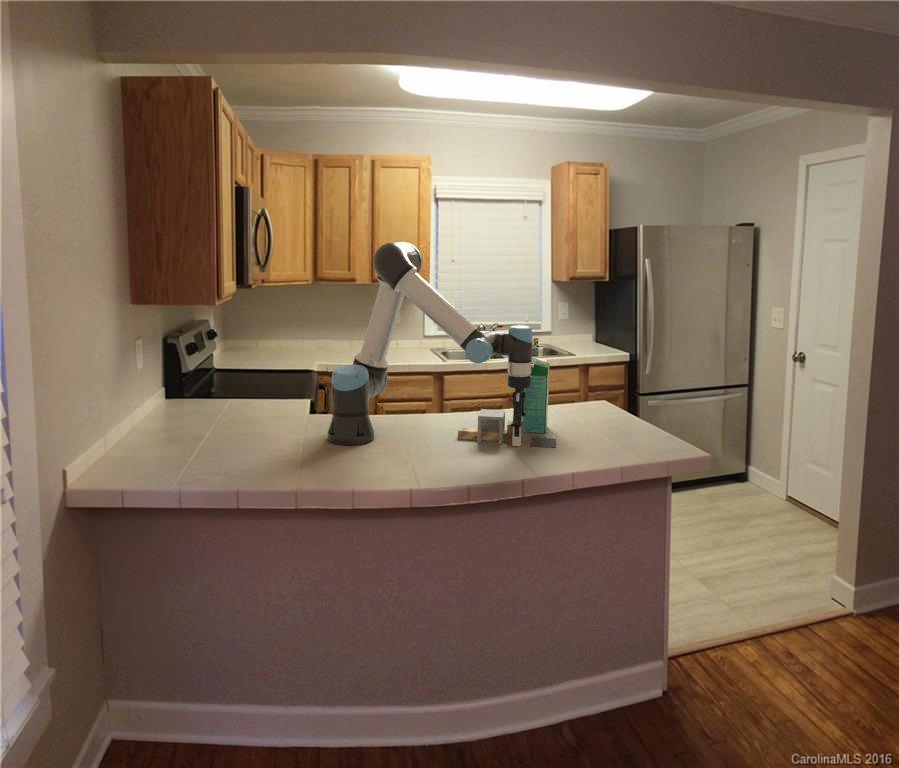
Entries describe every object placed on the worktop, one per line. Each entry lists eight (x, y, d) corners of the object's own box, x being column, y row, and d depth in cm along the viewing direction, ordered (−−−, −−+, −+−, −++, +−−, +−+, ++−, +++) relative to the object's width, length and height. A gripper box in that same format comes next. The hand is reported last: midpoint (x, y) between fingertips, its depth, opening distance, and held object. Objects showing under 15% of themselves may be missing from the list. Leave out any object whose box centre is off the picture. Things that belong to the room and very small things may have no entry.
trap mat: (530, 446, 228) (530, 445, 228) (531, 437, 238) (531, 437, 238) (555, 447, 227) (555, 447, 227) (556, 439, 237) (556, 438, 237)
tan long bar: (457, 439, 236) (457, 430, 235) (459, 436, 240) (459, 427, 239) (506, 442, 234) (506, 433, 233) (507, 438, 238) (507, 430, 237)
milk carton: (545, 433, 243) (548, 360, 238) (518, 431, 245) (521, 359, 240) (547, 426, 252) (550, 356, 247) (521, 424, 254) (523, 354, 248)
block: (506, 442, 232) (507, 424, 231) (507, 438, 237) (508, 420, 236) (522, 443, 232) (522, 425, 230) (523, 439, 236) (523, 421, 235)
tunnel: (477, 442, 231) (477, 415, 229) (480, 435, 240) (481, 409, 238) (502, 444, 230) (502, 417, 228) (504, 436, 239) (505, 410, 237)
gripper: (529, 382, 217) (527, 451, 222) (532, 368, 240) (530, 431, 244) (504, 381, 218) (503, 450, 223) (510, 367, 241) (508, 430, 246)
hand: (517, 440), depth 234 cm, fingers open, 11 cm apart
